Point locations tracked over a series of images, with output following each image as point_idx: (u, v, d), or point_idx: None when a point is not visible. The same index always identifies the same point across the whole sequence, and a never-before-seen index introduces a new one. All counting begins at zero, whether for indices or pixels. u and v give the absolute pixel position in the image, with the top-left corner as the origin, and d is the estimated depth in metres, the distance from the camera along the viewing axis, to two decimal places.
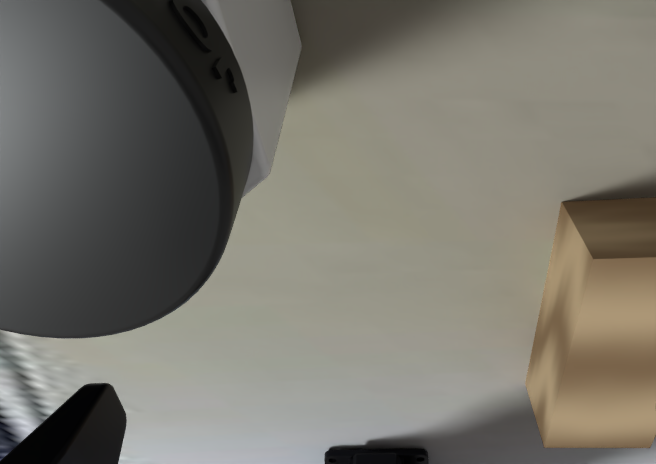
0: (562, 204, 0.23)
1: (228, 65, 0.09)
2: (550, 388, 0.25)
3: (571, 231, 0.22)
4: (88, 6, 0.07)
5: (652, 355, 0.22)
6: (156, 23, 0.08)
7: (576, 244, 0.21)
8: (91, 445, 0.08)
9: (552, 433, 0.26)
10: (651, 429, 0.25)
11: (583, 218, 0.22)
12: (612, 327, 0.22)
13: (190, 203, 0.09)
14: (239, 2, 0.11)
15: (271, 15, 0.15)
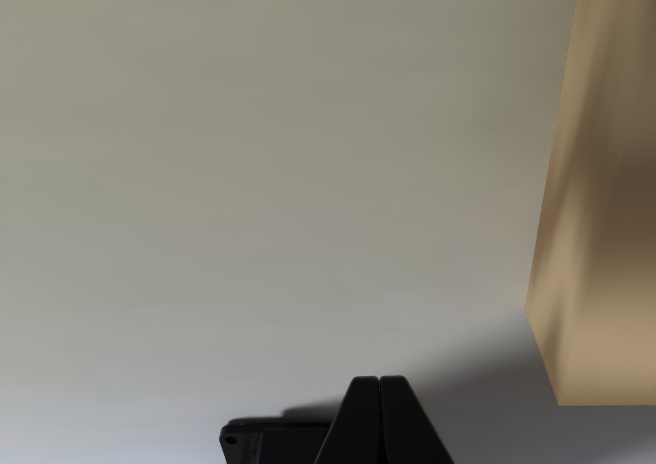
0: None
1: None
2: (569, 291, 0.14)
3: None
4: None
5: None
6: None
7: None
8: None
9: (573, 377, 0.14)
10: None
11: None
12: None
13: None
14: None
15: None
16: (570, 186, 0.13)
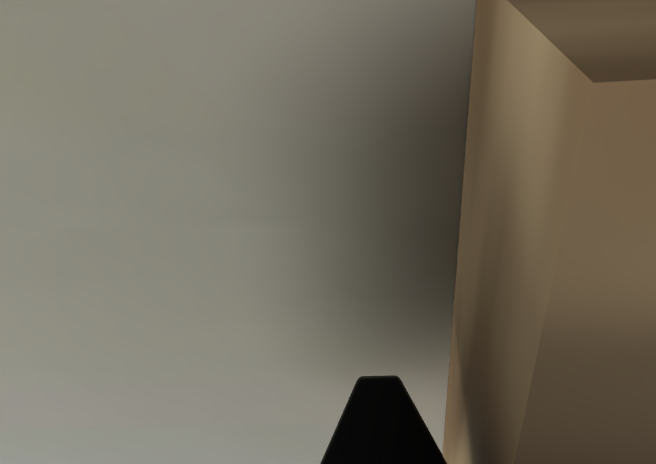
0: None
1: None
2: None
3: (504, 45, 0.06)
4: None
5: None
6: None
7: (522, 81, 0.05)
8: None
9: None
10: None
11: None
12: None
13: None
14: None
15: None
16: (468, 410, 0.09)
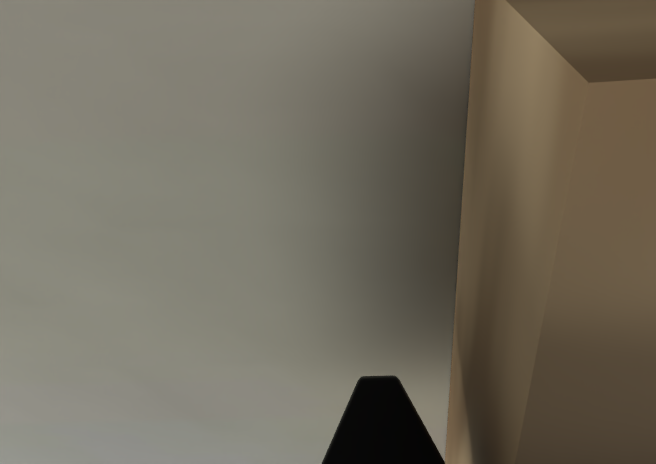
0: None
1: None
2: None
3: (502, 44, 0.05)
4: None
5: None
6: None
7: (518, 81, 0.05)
8: None
9: None
10: None
11: None
12: None
13: None
14: None
15: None
16: (469, 412, 0.09)
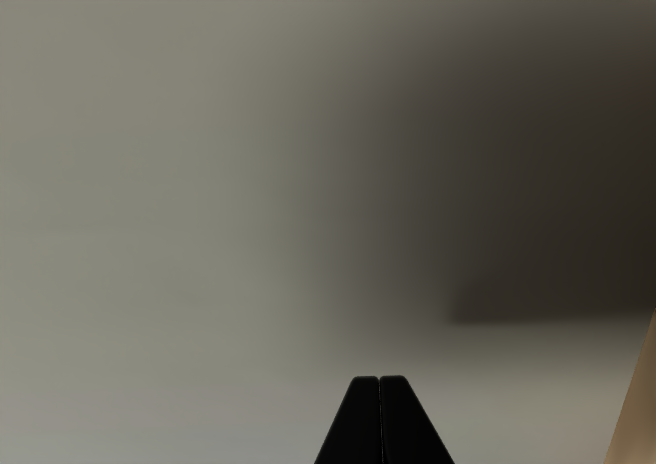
0: None
1: None
2: None
3: None
4: None
5: None
6: None
7: None
8: None
9: None
10: None
11: None
12: None
13: None
14: None
15: None
16: None
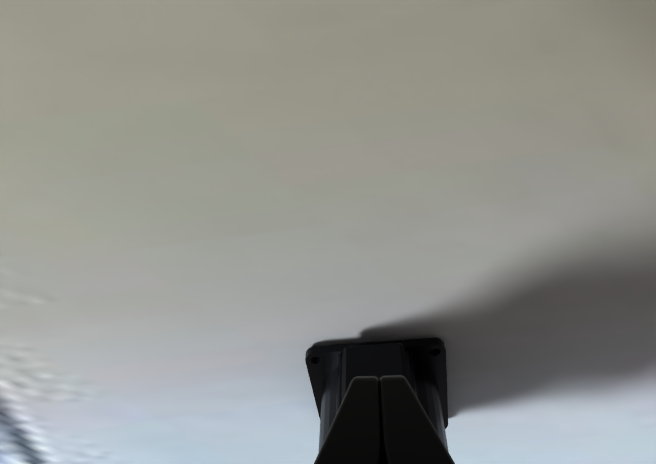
0: None
1: None
2: None
3: None
4: None
5: None
6: None
7: None
8: None
9: None
10: None
11: None
12: None
13: None
14: None
15: None
16: None
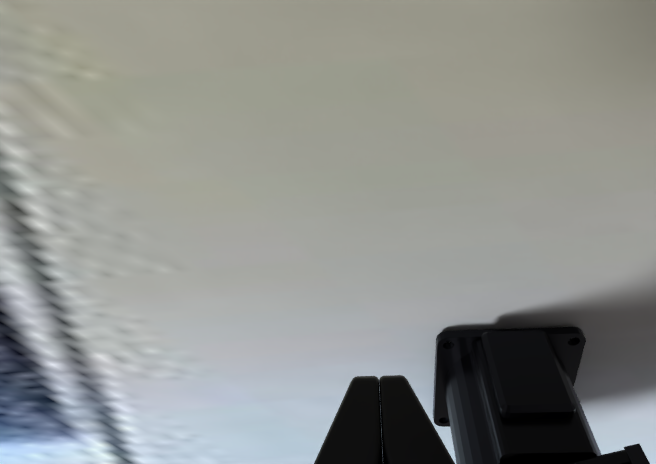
0: None
1: None
2: None
3: None
4: None
5: None
6: None
7: None
8: None
9: None
10: None
11: None
12: None
13: None
14: None
15: None
16: None
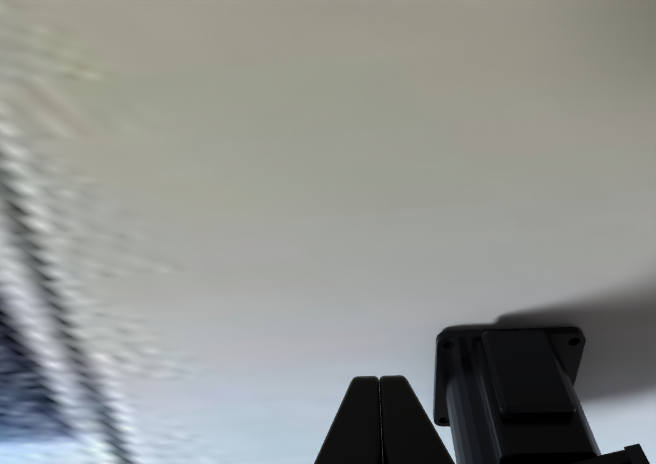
0: None
1: None
2: None
3: None
4: None
5: None
6: None
7: None
8: None
9: None
10: None
11: None
12: None
13: None
14: None
15: None
16: None
